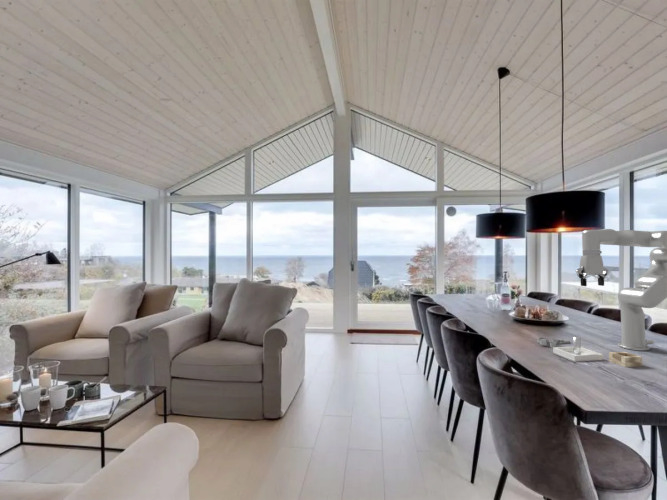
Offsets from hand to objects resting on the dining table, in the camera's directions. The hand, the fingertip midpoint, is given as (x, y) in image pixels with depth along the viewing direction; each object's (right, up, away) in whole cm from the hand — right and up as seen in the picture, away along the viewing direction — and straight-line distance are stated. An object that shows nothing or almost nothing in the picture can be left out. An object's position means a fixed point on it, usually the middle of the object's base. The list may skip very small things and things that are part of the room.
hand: (592, 285), depth 180 cm
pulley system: (-15, -34, +9) cm, 39 cm away
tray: (-18, -33, -15) cm, 41 cm away
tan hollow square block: (-6, -33, -27) cm, 43 cm away
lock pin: (-18, -32, -15) cm, 40 cm away
